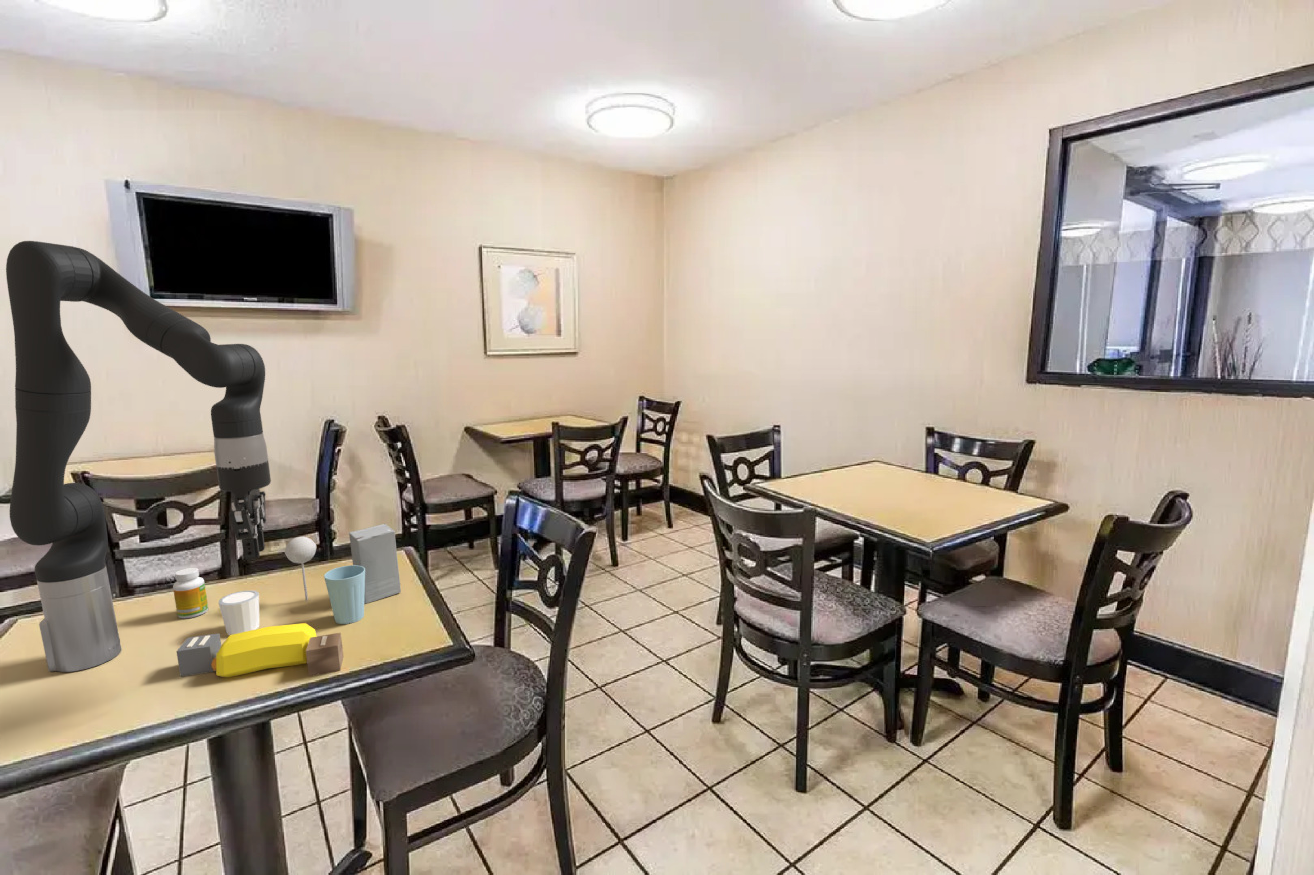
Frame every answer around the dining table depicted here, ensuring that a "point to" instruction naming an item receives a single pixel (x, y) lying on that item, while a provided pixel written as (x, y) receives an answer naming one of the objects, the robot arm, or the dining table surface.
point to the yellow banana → (263, 649)
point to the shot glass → (240, 611)
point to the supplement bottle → (190, 593)
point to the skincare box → (376, 561)
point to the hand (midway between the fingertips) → (254, 554)
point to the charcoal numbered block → (198, 654)
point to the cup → (346, 593)
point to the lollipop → (301, 554)
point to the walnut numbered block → (324, 654)
